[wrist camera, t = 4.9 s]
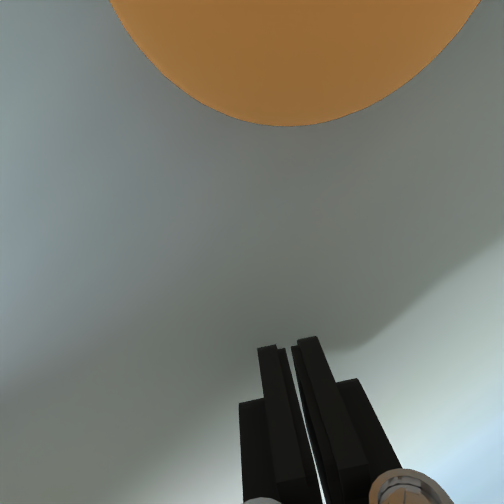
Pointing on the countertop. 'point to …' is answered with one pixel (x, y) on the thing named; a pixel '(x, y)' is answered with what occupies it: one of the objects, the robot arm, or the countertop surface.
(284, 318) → the countertop surface
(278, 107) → the ball
